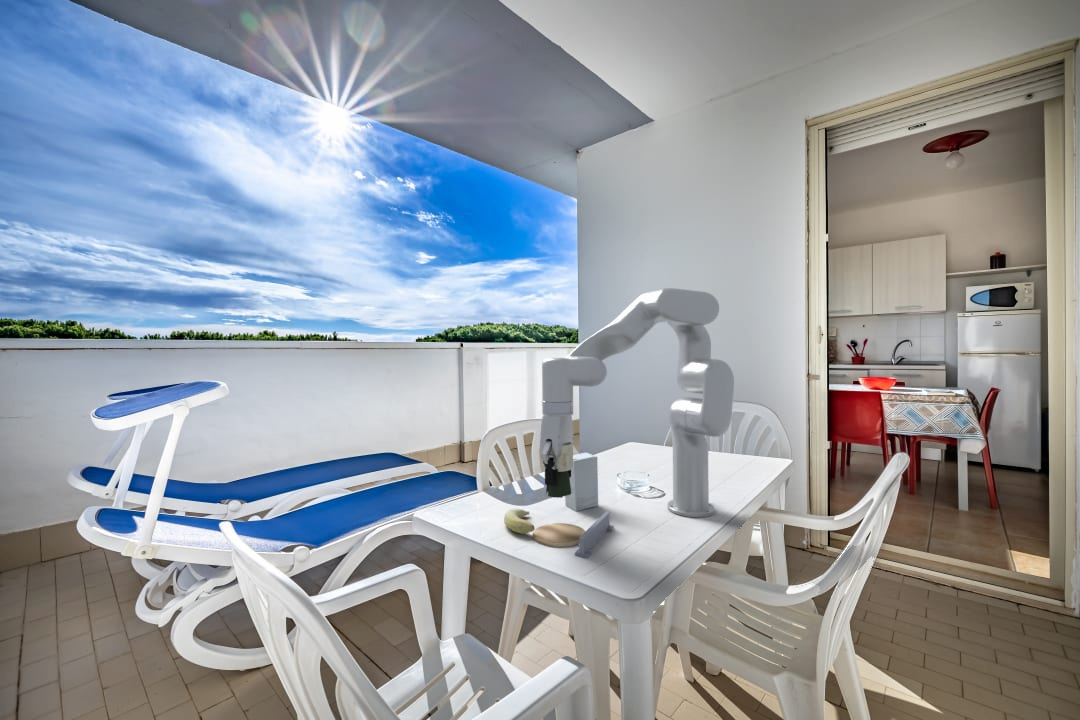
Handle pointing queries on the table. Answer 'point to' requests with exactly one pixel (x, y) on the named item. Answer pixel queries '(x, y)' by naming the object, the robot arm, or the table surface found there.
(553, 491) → the character mug
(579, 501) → the skincare box
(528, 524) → the fruit
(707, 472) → the robot arm
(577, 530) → the coaster
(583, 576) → the table surface
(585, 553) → the grey cabinet handle
